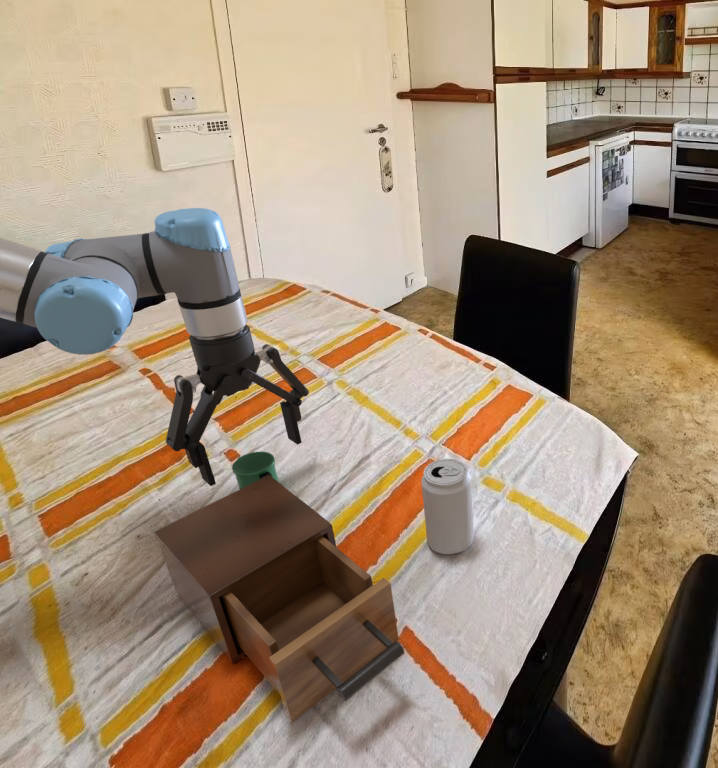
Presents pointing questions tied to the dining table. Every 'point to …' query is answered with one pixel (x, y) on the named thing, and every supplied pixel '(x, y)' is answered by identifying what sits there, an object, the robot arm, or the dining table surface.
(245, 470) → the green cup
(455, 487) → the beverage can
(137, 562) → the dining table surface
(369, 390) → the dining table surface
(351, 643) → the drawer
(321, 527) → the cabinet
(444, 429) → the dining table surface
